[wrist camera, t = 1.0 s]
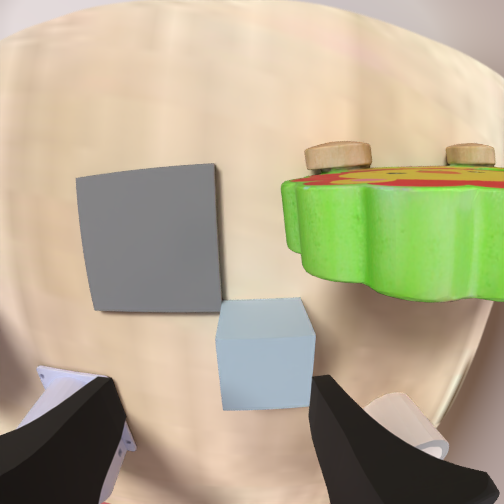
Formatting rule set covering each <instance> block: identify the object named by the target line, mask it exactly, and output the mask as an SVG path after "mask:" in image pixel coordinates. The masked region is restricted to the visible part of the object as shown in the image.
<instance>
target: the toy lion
mask: <svg viewBox="0 0 504 504" xmlns="http://www.w3.org/2000/svg"><path fill="white" fill-rule="evenodd" d="M304 152H305V159H306V166H307V169H308V170H316V169H322V173H321V175H312V176H307V177H304V178H299V179H293V180H289V181H285V182H284V183H282V185H281V194H282V203H283V212H284V221H285V231H286V241H287V245H288V248H289V249H290V250H292V251H294V252H296V253H300V254H301V258H302V265H303V267H304V269H305V270H306V272H308V273H309V274H311V275H313V276H316V277H318V278H321V279H325V280H329V281H334V282H344V283H363V284H365V285H367V286H369V287H370V288H372V289H373V290H375V291H376V292H378V293H380V294H383V295H386V296H390V297H394V298H399V299H404V300H408V301H418V302H451V301H457V300H460V299H467V298H479V299H485V300H491V301H499V302H504V168H500V167H494V165H495V151H494V148H493V147H491V146H488V145H483V144H476V143H466V144H457V145H452V146H449V147H447V148H446V155H447V163H448V164H450V166H418V167H382V168H370V165H371V163H372V156H371V148H370V145H369V144H368V143H362V142H351V141H340V142H330V143H325V144H321V145H317V146H314V147H311V148H308V149H306V150H305V151H304Z"/></svg>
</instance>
